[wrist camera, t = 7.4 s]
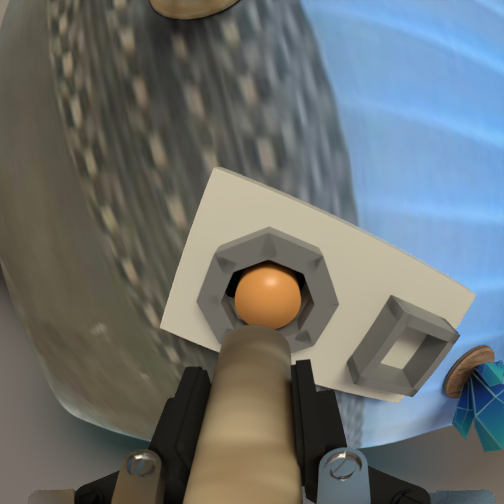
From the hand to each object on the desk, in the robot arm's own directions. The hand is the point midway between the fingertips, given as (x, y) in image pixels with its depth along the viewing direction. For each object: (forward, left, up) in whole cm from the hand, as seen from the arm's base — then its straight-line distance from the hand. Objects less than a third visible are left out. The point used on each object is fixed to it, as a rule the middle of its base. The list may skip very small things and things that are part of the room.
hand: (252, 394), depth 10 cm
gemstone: (-26, +2, -12) cm, 29 cm away
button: (0, 0, -10) cm, 10 cm away
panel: (-5, 0, -11) cm, 13 cm away
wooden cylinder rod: (0, 0, -3) cm, 3 cm away
